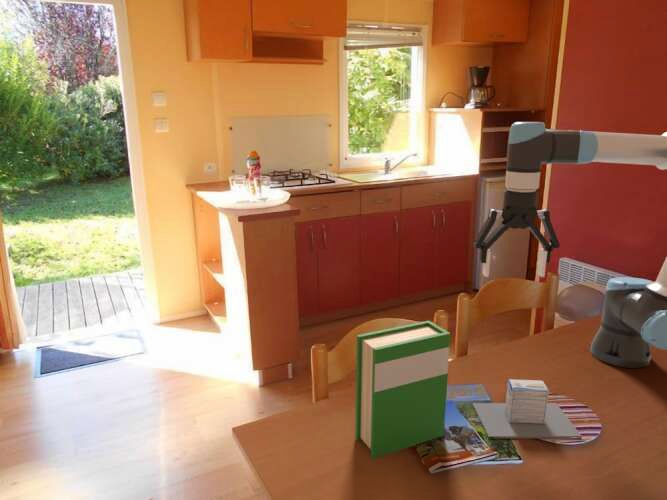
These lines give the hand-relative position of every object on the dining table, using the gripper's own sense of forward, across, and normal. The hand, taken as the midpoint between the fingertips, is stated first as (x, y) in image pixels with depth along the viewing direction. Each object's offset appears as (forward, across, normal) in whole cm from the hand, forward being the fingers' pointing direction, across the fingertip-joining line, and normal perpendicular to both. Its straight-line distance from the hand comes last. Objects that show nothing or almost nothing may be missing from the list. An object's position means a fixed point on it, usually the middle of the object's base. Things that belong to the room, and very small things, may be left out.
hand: (513, 275), depth 128 cm
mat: (+29, +1, +18) cm, 34 cm away
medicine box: (+28, +1, +18) cm, 34 cm away
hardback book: (+29, +30, +24) cm, 48 cm away
